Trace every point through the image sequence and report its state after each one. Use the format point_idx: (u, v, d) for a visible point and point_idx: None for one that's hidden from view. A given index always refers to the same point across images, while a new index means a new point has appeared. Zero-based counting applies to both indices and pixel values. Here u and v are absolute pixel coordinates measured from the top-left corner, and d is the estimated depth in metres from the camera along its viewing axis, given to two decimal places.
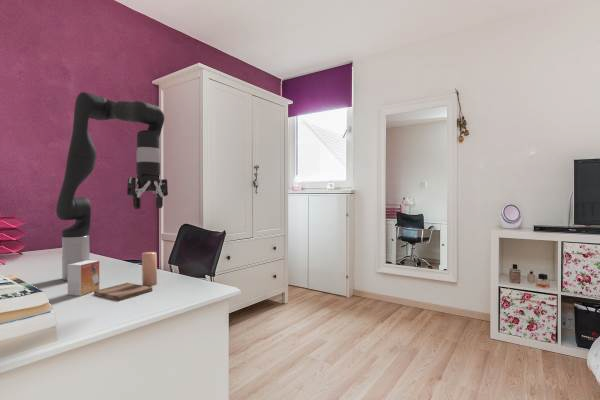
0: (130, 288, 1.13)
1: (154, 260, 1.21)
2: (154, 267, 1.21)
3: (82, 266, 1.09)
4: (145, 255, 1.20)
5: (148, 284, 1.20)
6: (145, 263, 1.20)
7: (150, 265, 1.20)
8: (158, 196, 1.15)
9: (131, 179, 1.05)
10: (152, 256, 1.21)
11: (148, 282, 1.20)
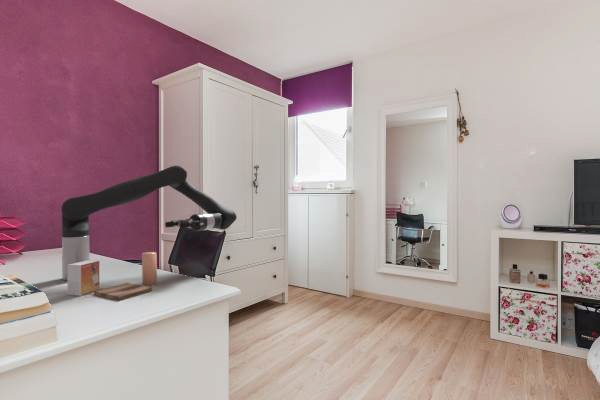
0: (130, 288, 1.13)
1: (154, 260, 1.21)
2: (154, 267, 1.21)
3: (82, 266, 1.09)
4: (145, 255, 1.20)
5: (148, 284, 1.20)
6: (145, 263, 1.20)
7: (150, 265, 1.20)
8: (174, 223, 1.38)
9: (202, 225, 1.37)
10: (152, 256, 1.21)
11: (148, 282, 1.20)
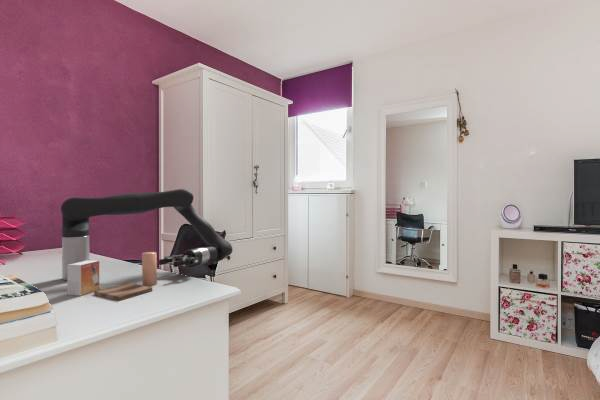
0: (130, 288, 1.13)
1: (154, 260, 1.21)
2: (154, 267, 1.21)
3: (82, 266, 1.09)
4: (145, 255, 1.20)
5: (148, 284, 1.20)
6: (145, 263, 1.20)
7: (150, 265, 1.20)
8: (168, 260, 1.35)
9: (197, 262, 1.35)
10: (152, 256, 1.21)
11: (148, 282, 1.20)
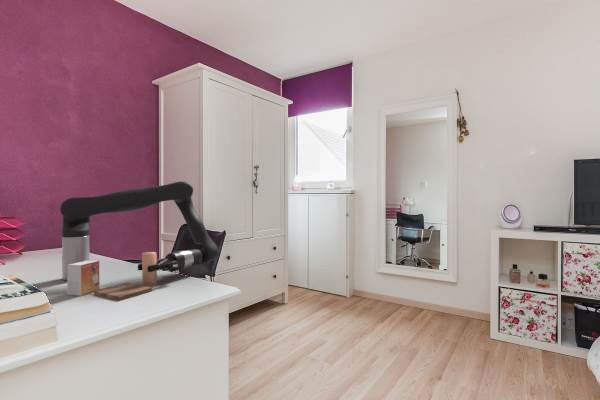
0: (130, 288, 1.13)
1: (154, 260, 1.21)
2: None
3: (82, 266, 1.09)
4: (145, 255, 1.20)
5: (148, 284, 1.20)
6: (145, 263, 1.20)
7: (150, 265, 1.20)
8: None
9: (176, 267, 1.25)
10: (152, 256, 1.21)
11: (148, 282, 1.20)
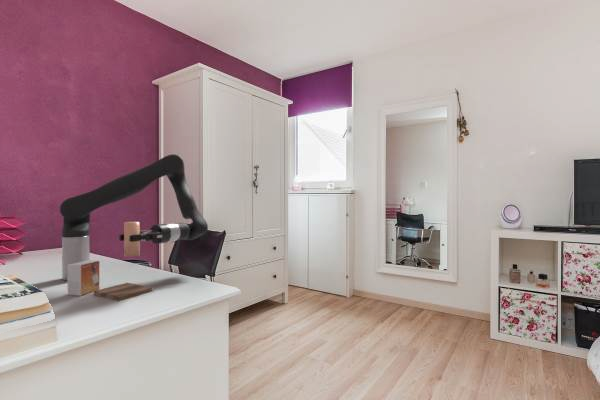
0: (130, 288, 1.13)
1: (137, 229, 1.14)
2: None
3: (82, 266, 1.09)
4: (127, 224, 1.13)
5: (130, 255, 1.13)
6: (127, 232, 1.13)
7: (133, 234, 1.13)
8: None
9: (160, 238, 1.18)
10: (134, 225, 1.14)
11: (130, 253, 1.13)
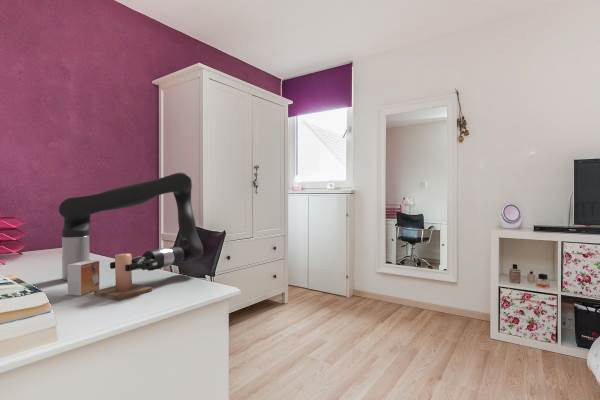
0: None
1: (128, 262, 1.11)
2: None
3: (82, 266, 1.09)
4: (118, 257, 1.10)
5: (122, 289, 1.10)
6: (118, 265, 1.10)
7: (124, 268, 1.10)
8: None
9: (156, 265, 1.16)
10: (126, 258, 1.10)
11: (121, 287, 1.10)
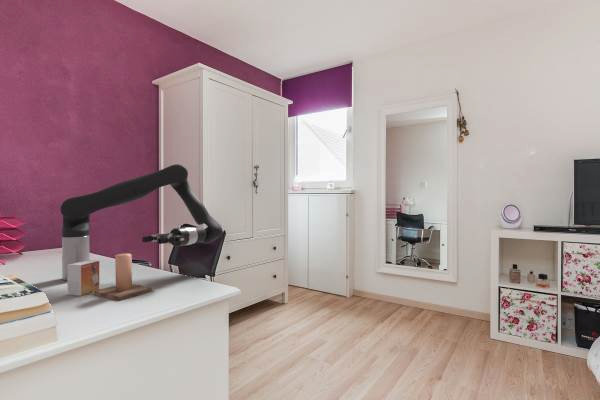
0: None
1: (129, 262, 1.11)
2: (128, 270, 1.11)
3: (82, 266, 1.09)
4: (118, 257, 1.10)
5: (122, 289, 1.10)
6: (119, 265, 1.10)
7: (124, 268, 1.10)
8: (152, 238, 1.27)
9: (183, 240, 1.27)
10: (126, 258, 1.10)
11: (121, 287, 1.10)
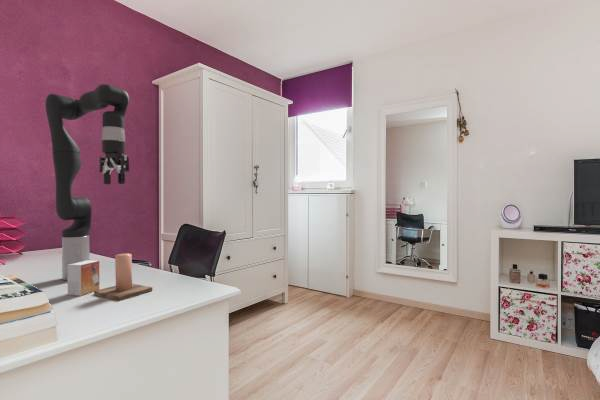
0: None
1: (129, 262, 1.11)
2: (128, 270, 1.11)
3: (82, 266, 1.09)
4: (118, 257, 1.10)
5: (122, 289, 1.10)
6: (119, 265, 1.10)
7: (124, 268, 1.10)
8: (107, 173, 1.22)
9: (127, 157, 1.18)
10: (126, 258, 1.10)
11: (121, 287, 1.10)
